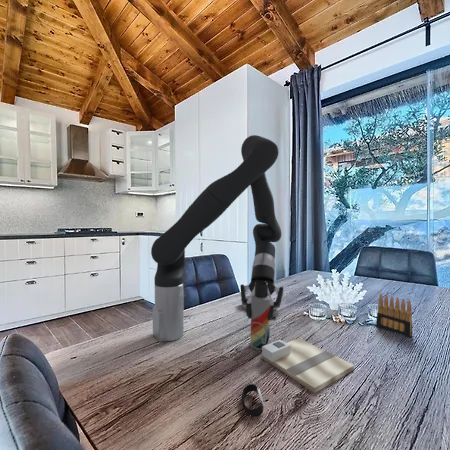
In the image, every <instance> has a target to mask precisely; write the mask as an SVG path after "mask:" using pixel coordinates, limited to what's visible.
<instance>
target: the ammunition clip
mask: <svg viewBox="0 0 450 450" xmlns="http://www.w3.org/2000/svg"><path fill="white" fill-rule="evenodd" d="M412 315H413V312H412V301H411V300H410V299H408V302H407V304H406V300H405V299H404V298H403V299H402V300H401V303H400V298H399V297H396V299H395V301H394V296H392V295H391V297H390V300H389V296H388V295H387V294H386V295H385V296H384V298H383V293H380V294H379V298H378V304H377V312H376V321H375V322H376V325H375V326H376V327H377V328H380V329H383V330H386V331H388V330H389V332H391V331H392V333H394V332H396V333H395V334H397V333H398V334H397V335H400V334H402V335H401V336H403V335H405V336H404V337H406V336H408V337H407V338H409V337H410V338H411V337H413V321H412V320H413V316H412Z"/></svg>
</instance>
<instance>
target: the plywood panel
mask: <svg viewBox="0 0 450 450" xmlns="http://www.w3.org/2000/svg"><path fill="white" fill-rule="evenodd" d="M286 343H287V344H289V345H291V354H289V355H287V356H285V357H282V358H280V359H278V360H276V361H273V362H272V361H270V360H269V359H267V358H266V357H264V356H262V352H260V358H261V359H263V360H265V361H266V362H267V363H269V364H271V365H272V366H273V367H275V368H277V369H278V370H279V371H280V372H282V373H284V374H285V375H286V376H288V377H290V378H291V379H293V380H294V381H295V382H297V383H298V384H300V385H302V386H303V387H305V388H306V389H308V390H309V391H311V392H312V393H313V394H316V393H318V392H319V391H321V390H323V389H324V388H326V387H327V386H329V385H330V384H331V385H332V384H333V383H334V382H336V381H339V379H341V378H343V377H344V376H346V375H347V374H349V373H351V372H353V371H354V370H355V365H354V364H353V363H351V362H348V361H347V360H344V359H343V358H340V357H339V356H337V355H335V354H333V353H331V352H329V351H327V350H324V349H323V348H320V347H318V346H316V345H314V344H312V343H310V342H309V341H306V340H304V339H303V338H299V337H298V338H296V339H293V340H290V341H288V342H286Z"/></svg>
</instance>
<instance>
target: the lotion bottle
mask: <svg viewBox="0 0 450 450" xmlns="http://www.w3.org/2000/svg"><path fill="white" fill-rule="evenodd" d="M269 310H270V297H269V296H268V282H267V281H259V282H255V295H253V296H252V299H251V319H250V343H249V344H250V347H251V348H252V349H254V350H256V351H262V346H264V345H267V344H270V331H271V330H270V329H271V327H270V326H271V321H270V320H268V312H269Z"/></svg>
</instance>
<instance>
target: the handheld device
mask: <svg viewBox="0 0 450 450" xmlns="http://www.w3.org/2000/svg"><path fill="white" fill-rule="evenodd" d="M249 297H250V295H246V299H247V300H248V299H249ZM240 301H241V302H242V300H241V299H240ZM241 305H242V307H243V309H245V308H246V309H247V305H243V304H242V303H241ZM246 309H245V310H246ZM278 309H279V308H277V307H276V308H274V311H273V318H277V317H278V316H279V313H278Z"/></svg>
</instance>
